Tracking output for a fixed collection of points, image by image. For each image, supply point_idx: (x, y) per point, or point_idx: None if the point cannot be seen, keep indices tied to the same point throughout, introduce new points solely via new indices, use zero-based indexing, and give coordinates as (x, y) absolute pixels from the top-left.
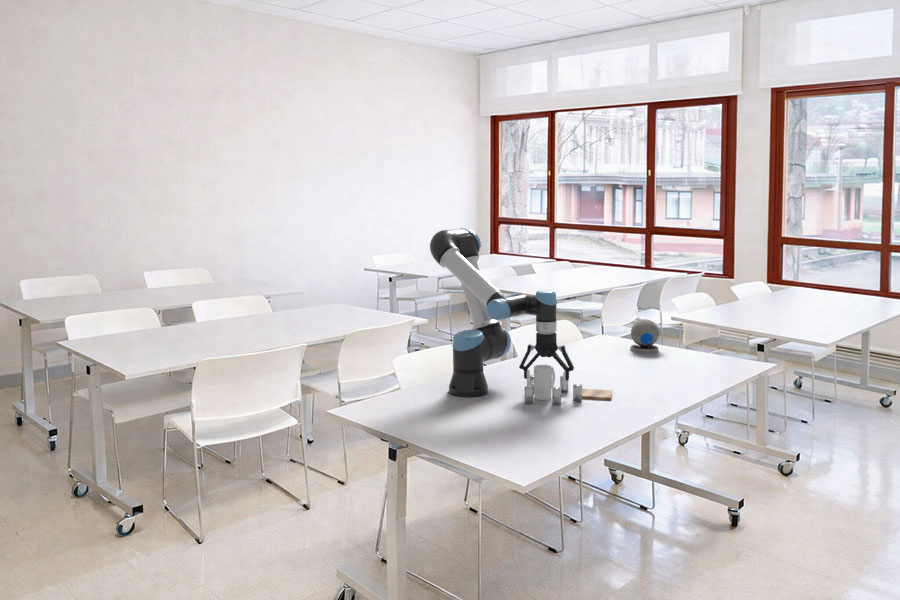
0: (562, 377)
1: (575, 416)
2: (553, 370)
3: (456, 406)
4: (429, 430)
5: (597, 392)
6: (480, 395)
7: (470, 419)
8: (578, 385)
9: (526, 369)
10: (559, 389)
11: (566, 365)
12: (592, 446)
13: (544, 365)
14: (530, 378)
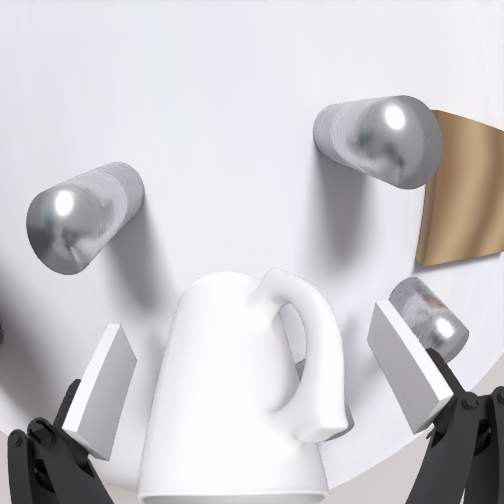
0: (395, 186)
1: (365, 419)
2: (338, 397)
3: (38, 411)
4: (108, 477)
5: (494, 182)
6: (1, 337)
7: (123, 462)
8: (450, 353)
9: (88, 466)
10: (343, 434)
11: (476, 434)
12: (364, 469)
13: (225, 490)
14: (66, 267)
